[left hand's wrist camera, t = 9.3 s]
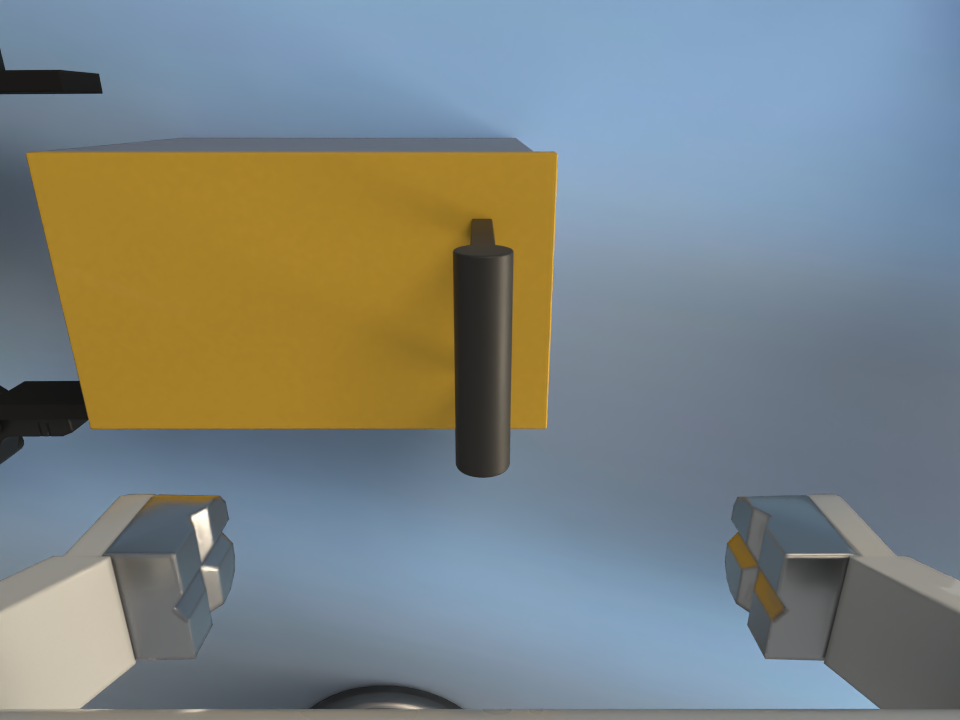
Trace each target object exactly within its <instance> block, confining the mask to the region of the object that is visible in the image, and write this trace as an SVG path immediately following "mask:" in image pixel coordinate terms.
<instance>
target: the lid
mask: <svg viewBox="0 0 960 720" xmlns="http://www.w3.org/2000/svg"><path fill="white" fill-rule="evenodd" d="M26 157H27V161H28V165H29V169H30V173H31V178H32V182H33V186H34V190H35V195H36V199H37V203H38V207H39V212H40V216H41V220H42V224H43V228H44V233H45V237H46V241H47V245H48V250H49V254H50V258H51V262H52V267H53V271H54V275H55V279H56V283H57V288H58V292H59V296H60V300H61V305H62V309H63V313H64V317H65V322H66V326H67V330H68V334H69V339H70V343H71V347H72V351H73V355H74V360H75V364H76V368H77V372H78V377H79V381H80V385H81V389H82V394H83V398H84V402H85V406H86V410H87V415H88V419H89V423H90V427H91V429H455V437H456V466H457V468H458V469H459V470H460V471H461V472H462V473H464V474H466V475H469V476H473V477H481V478H485V477H493V476H497V475H500V474H502V473H503V472H505V471H506V470H507V469H508V467H509V465H510V429H546V428H547V408H548V384H549V359H550V335H551V311H552V287H553V262H554V238H555V214H556V190H557V165H558V153H556V152H292V151H40V152H29V153H26Z"/></svg>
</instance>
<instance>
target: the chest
mask: <svg viewBox="0 0 960 720" xmlns="http://www.w3.org/2000/svg"><path fill="white" fill-rule="evenodd" d="M51 151H292V152H533V151H532V150H531V149H530V148H528V147H527V146H526V145H524V144H523V143H522V142H520V141H519V140H518V139H516V138H176V139H165V140H155V141H145V142H134V143H124V144H113V145H103V146H93V147H82V148H72V149H61V150H51Z"/></svg>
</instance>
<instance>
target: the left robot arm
mask: <svg viewBox="0 0 960 720" xmlns="http://www.w3.org/2000/svg"><path fill="white" fill-rule="evenodd" d="M228 520H229V517H228V512H227V507H226V502H225V501H224V500H223V499H222V497H221V496H207V495H155V494H130V495H124V496H120V497H119V498H118V499H117V500H116V501H115V502H114V503H113V504H112V505H111V506H110V507H109V508H108V509H107V510H106V511H105V513H104V514H103V515H102V516H101V517H100V518H99V519H98V520H97V521H96V522H95V523H94V524H93V525H92V526H91V527H90V528H89V529H88V531H87V532H86V533H85V534H84V535H83V536H82V537H81V538H80V539H79V540H78V541H77V542H76V543H75V544H74V545H73V546H72V547H71V549H70V550H69V551H68V552H67V553H66V554H65V555H64V556H52V557H50V558H48V559H46V560H44V561H42V562H39V563H37V564H35V565H33V566H31V567H29V568H27V569H24V570H22V571H20V572H18V573H16V574H14V575H12V576H10V577H7V578H5V579H3V580H1V581H0V720H960V581H959V580H957V579H955V578H952V577H950V576H948V575H946V574H944V573H942V572H940V571H938V570H935V569H933V568H931V567H929V566H927V565H925V564H923V563H921V562H918V561H916V560H914V559H912V558H910V557H908V556H896V555H895V554H894V553H893V552H892V551H891V550H890V549H889V547H888V546H887V545H886V544H885V543H884V542H883V541H882V540H881V539H880V538H879V537H878V536H877V535H876V534H875V533H874V532H873V530H872V529H871V528H870V527H869V526H868V525H867V524H866V523H865V522H864V521H863V520H862V519H861V518H860V517H859V516H858V515H857V513H856V512H855V511H854V510H853V509H852V508H851V507H850V506H849V505H848V504H847V503H846V502H845V501H844V500H843V499H842V498H841V497H839V496H837V495H835V494H816V495H793V496H752V497H737V499H736V501H735V503H734V505H733V511H732V516H731V520H732V522H733V524H734V525H735V527H736V529H737V530H738V533H737V534H736V535H735V536H734V537H733V538H732V539H731V540H730V541H729V542H728V543H727V548H726V556H725V568H726V579H727V582H728V586H729V589H730V592H731V594H732V596H733V598H734V600H735V602H736V604H738V605H739V606H741V607H742V608H744V609H745V610H746V611H748V612H749V618H748V624H747V625H748V627H749V629H750V631H751V633H752V635H753V637H754V639H755V640H756V642H757V644H758V646H759V648H760V650H761V652H762V654H763V656H764V657H765V659H787V660H823V661H824V664H826V665H827V666H828V667H829V668H831V669H832V670H833V671H834V672H835V673H837V674H838V675H839V676H840V677H842V678H843V679H844V680H845V681H847V682H848V683H849V684H850V685H852V686H853V687H854V688H855V689H856V690H858V691H859V692H860V693H861V694H863V695H864V696H865V697H866V698H868V699H869V700H870V701H871V702H873V703H874V704H875V705H876V706H877V707H879V708H880V709H80V708H81V707H83V706H84V705H85V704H86V703H88V702H89V701H90V700H91V699H93V698H94V697H95V696H96V695H98V694H99V693H100V692H101V691H103V690H104V689H105V688H106V687H107V686H109V685H110V684H111V683H112V682H114V681H115V680H116V679H117V678H119V677H120V676H121V675H122V674H124V673H125V672H126V671H127V670H129V669H130V668H131V667H132V666H133V665H135V664H136V660H171V659H195V658H196V656H197V654H198V652H199V650H200V648H201V646H202V644H203V642H204V640H205V639H206V637H207V635H208V633H209V631H210V629H211V627H212V625H213V624H212V618H211V612H212V611H214V610H215V609H216V608H218V607H219V606H221V605H222V604H224V602H225V600H226V598H227V596H228V594H229V592H230V590H231V585H232V581H233V576H234V572H235V554H234V548H233V543H232V542H231V541H230V540H229V539H228V538H227V537H226V536H225V535H224V534H223V533H222V530H223V529H224V527H225V525H226V524H227V522H228Z"/></svg>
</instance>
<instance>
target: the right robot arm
mask: <svg viewBox="0 0 960 720" xmlns="http://www.w3.org/2000/svg"><path fill="white" fill-rule="evenodd" d="M0 94H103V92H102V87H101V82H100V77H99V74H96V73H86V72H75V71H65V70H5V67H4V63H3V59H2V55H1V50H0ZM87 420H89V419H88V415H87V410H86V406H85V402H84V398H83V394H82V389H81V385H80V381H24V382H23V383H21V384H19V385H18V386H16V387H14V388H13V389H11V390H9V391H8V390H7V389H5V388H3V387H2V386H0V464H1V463H3V462H4V461H5V460H7V459H8V458H9V457H11V456H12V455H14V454H15V453H16V452H17V451H19V450H20V449H22V447H23V445H24V440H23V438H22V436H64V435H67V434H69V433H72V432H73V431H75V430H76V429H77V428H78V427H80V426H81V425H82V424H84V423H85V422H86V421H87ZM311 709H462V708H460V707H459V706H457V705H456V704H454V703H452V702H450V701H448V700H446V699H444V698H442V697H439V696H437V695H434V694H431V693H429V692H425V691H421V690H418V689H412V688H407V687H398V686H371V687H363V688H357V689H352V690H349V691H345V692H342V693H339V694H336V695H334V696H331V697H329V698H327V699H325V700H323V701H321V702H320V703H318V704H316V705H315V706H314V707H312V708H311Z"/></svg>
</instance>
